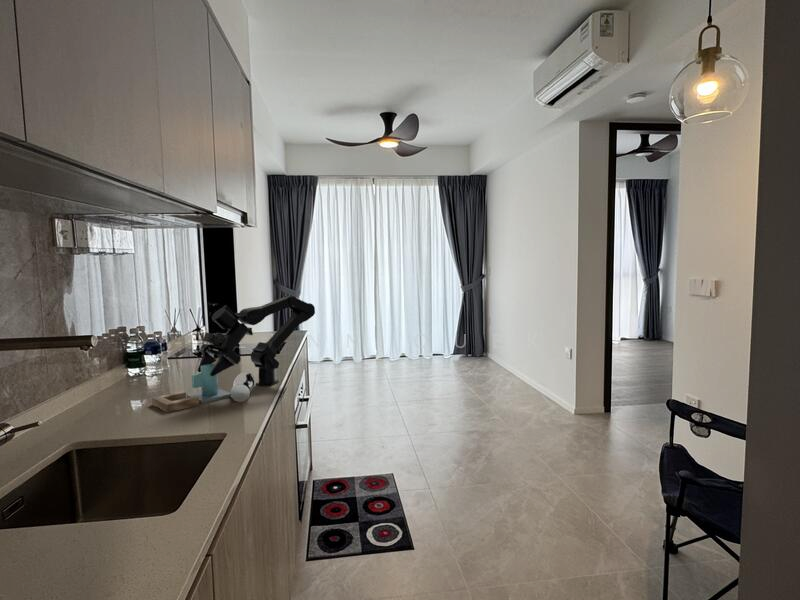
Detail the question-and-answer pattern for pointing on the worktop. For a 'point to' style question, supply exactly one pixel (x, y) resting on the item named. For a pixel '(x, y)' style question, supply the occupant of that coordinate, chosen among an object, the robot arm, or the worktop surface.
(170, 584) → the worktop surface
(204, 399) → the coaster
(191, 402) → the bracket
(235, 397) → the beer glass
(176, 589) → the worktop surface
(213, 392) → the teal gourd with tab
